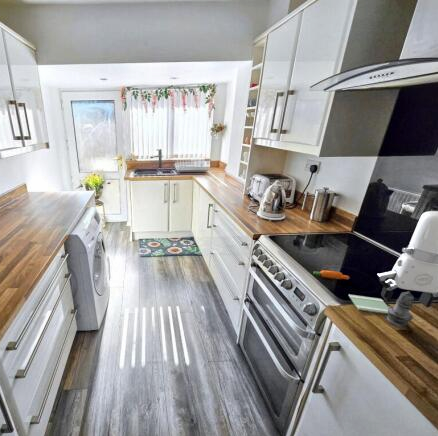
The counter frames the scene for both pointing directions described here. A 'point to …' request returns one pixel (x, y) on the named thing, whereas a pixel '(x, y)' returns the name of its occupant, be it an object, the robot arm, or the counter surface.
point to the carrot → (331, 274)
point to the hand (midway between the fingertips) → (404, 301)
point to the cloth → (369, 304)
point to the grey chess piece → (401, 310)
